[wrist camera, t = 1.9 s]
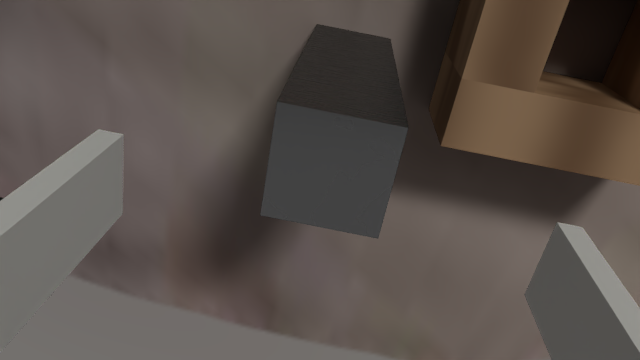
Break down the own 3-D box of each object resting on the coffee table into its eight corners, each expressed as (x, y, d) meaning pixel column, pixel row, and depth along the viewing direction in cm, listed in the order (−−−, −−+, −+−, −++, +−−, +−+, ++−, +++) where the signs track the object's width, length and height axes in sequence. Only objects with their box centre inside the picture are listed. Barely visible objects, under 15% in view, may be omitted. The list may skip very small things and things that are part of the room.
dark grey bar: (304, 95, 32) (260, 215, 19) (316, 24, 31) (277, 101, 17) (373, 109, 33) (378, 238, 19) (390, 38, 31) (408, 128, 17)
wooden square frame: (428, 109, 32) (440, 145, 27) (497, -132, 26) (531, -146, 21) (634, 150, 32) (687, 195, 27) (747, -81, 27) (844, -83, 21)
